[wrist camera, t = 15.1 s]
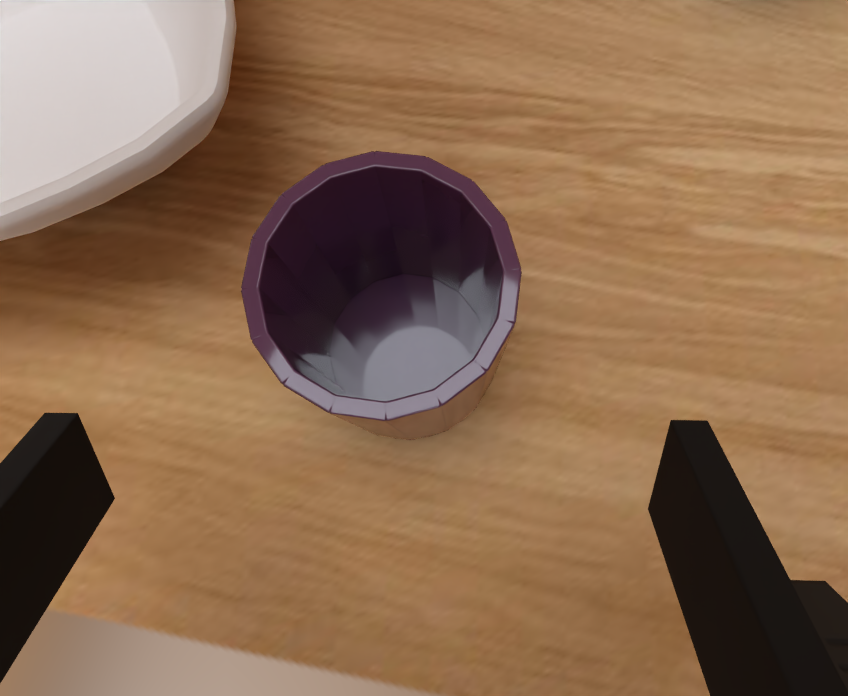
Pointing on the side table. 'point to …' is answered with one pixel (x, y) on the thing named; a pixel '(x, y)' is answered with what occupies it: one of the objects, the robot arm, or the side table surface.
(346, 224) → the plum cup
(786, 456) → the side table surface
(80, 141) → the bowl
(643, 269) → the side table surface
